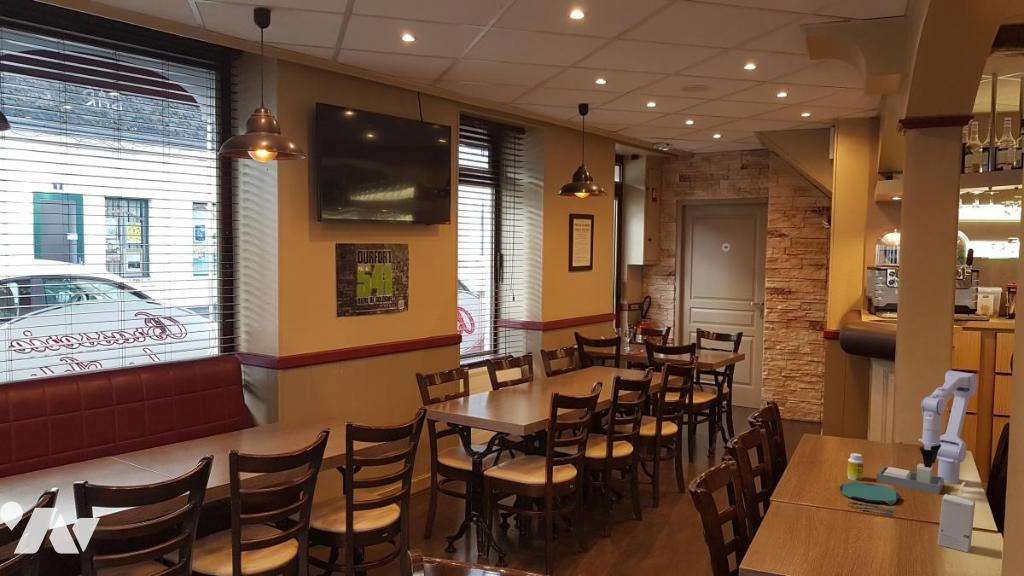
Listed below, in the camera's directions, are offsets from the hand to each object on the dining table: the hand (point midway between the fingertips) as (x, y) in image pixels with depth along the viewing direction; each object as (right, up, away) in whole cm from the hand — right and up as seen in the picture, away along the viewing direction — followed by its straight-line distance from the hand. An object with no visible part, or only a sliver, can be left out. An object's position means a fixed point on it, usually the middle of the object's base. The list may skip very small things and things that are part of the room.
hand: (929, 464), depth 269 cm
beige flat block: (-8, -9, +9) cm, 14 cm away
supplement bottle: (-23, -9, +12) cm, 27 cm away
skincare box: (-22, -12, -51) cm, 57 cm away
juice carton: (0, -9, +3) cm, 10 cm away
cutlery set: (-28, -11, -10) cm, 32 cm away
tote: (-4, -10, +6) cm, 12 cm away
